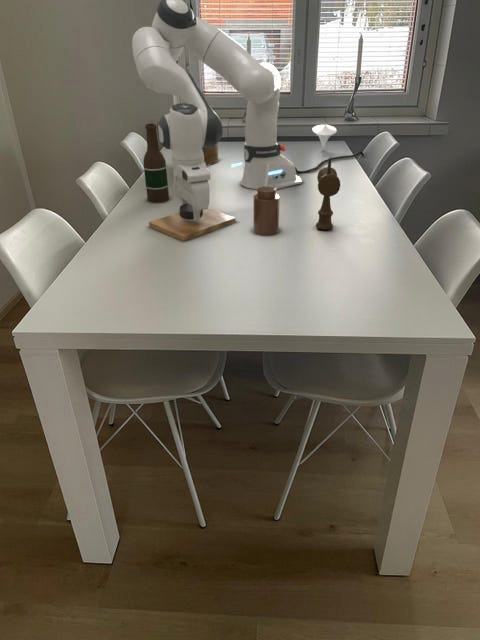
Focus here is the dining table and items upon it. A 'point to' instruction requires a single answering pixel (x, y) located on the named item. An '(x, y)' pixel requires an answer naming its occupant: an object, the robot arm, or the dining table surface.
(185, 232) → the board
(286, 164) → the robot arm
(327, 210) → the kendama
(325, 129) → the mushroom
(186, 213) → the lid
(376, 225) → the dining table surface
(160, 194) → the beer bottle
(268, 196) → the jar
